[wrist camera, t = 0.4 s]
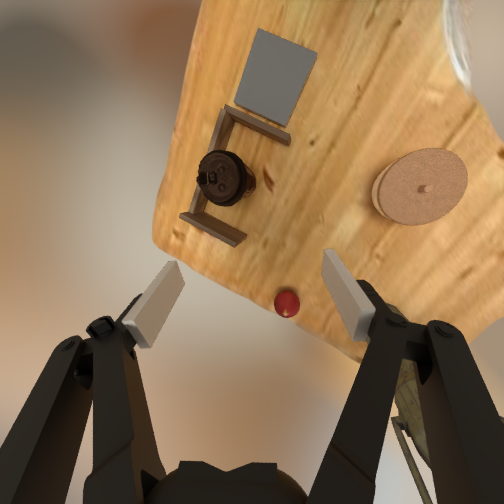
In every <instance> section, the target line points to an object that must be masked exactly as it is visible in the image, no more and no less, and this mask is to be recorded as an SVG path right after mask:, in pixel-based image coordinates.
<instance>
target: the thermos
mask: <svg viewBox="0 0 504 504" xmlns="http://www.w3.org/2000/svg"><path fill="white" fill-rule="evenodd" d="M386 304H387V303H386ZM387 306H388V307H389V308H390V309H391V311H392V312H394V313H397V314H399V315H401V316H403V317H404V318H405V319H406V320H407V321H408V322H409V320H408V319H407V318H406V317H405V316H404V315H403V314H402V313H401V312H400V311H399V310H398V309H397V308H396V307H394V306H392V305H390V304H387ZM366 341H367V343H368V345H369V342H370V338H369V336H368V335H367V338H366ZM394 396H395V404H396V406H397V408H398V411H399V416H396V417H391V421H392V424H393V427H394V430H395V433H396V436H397V438H398V441H399V444H400V446H401V449H402V451H403V454H404V456H405V458H406V461H407V464H408V466H409V469H410V471H411V473H412V476H413V478H414V481H415V483H416V486H417V488H418V490H419V493H420V496H421V498H422V501H423V503H424V504H433V503H432V500H431V498H430V496H429V494H428V491H427V489H426V486H425V484H424V482H423V479H422V477H421V475H420V473H419V470H418V468H417V466H416V463H415V461H414V459H413V456H412V454H411V452H410V449H409V447H408V445H407V443H406V440H405V438H404V435H403V433H402V431H401V430H405V432H406V434H407V436H408V437H411V439H412V440H413V443H414V445H415V447H416V449H417V451H418V453H419V455H420V456H421V457H422V459H423V460H424V461H425V462H426V464H427V465H428V467H429V468H430V469H431V464H430V458H429V453H428V447H427V441H426V436H425V430H424V424H423V419H422V413H421V407H420V402H419V396H418V390H417V384H416V379H415V373H414V367H413V362H412V361H410V360H406V359H402V363H401V368H400V372H399V376H398V381H397V385H396V390H395V394H394ZM500 419H501V421H502V423H503V425H504V418H503V417H501V416H500ZM431 471H432V470H431Z"/></svg>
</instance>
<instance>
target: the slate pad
mask: <svg viewBox="0 0 504 504" xmlns="http://www.w3.org/2000/svg"><path fill="white" fill-rule="evenodd" d="M316 59H317V53H316V52H314V51H312V50H309V49H307V48H305V47H302V46H300V45H298V44H295V43H293V42H290V41H288V40H286V39H283V38H281V37H279V36H276V35H274V34H272V33H269V32H267V31H264V30H262V29H260V28H258V30H257V33H256V36H255V39H254V42H253V45H252V48H251V51H250V54H249V57H248V60H247V63H246V66H245V69H244V72H243V75H242V78H241V81H240V84H239V87H238V90H237V93H236V96H235V99H234V103H235V105H237V106H239V107H242V108H244V109H246V110H248V111H250V112H252V113H254V114H257V115H259V116H261V117H263V118H265V119H267V120H269V121H272V122H274V123H276V124H278V125H280V126H282V127H284V128H286V126H287V124H288V122H289V120H290V117H291V115H292V113H293V111H294V108H295V106H296V104H297V102H298V99H299V97H300V95H301V93H302V90H303V88H304V86H305V84H306V81H307V79H308V77H309V75H310V72H311V70H312V68H313V66H314V63H315V61H316Z"/></svg>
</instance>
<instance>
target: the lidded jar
mask: <svg viewBox="0 0 504 504" xmlns="http://www.w3.org/2000/svg"><path fill="white" fill-rule="evenodd" d="M467 181H468V174H467V169H466V167H465V164H464V163H463V161H462V160H461V158H459V157H458V156H457V155H456V154H454V153H453V152H451V151H448V150H445V149H441V148H426V149H421V150H418V151H414V152H412V153H410V154H407V155H405V156H403V157H402V158H399V159H398V160H396V161H394V162H393V163H391V164H390V165H388V166H387V167H386V168H385V169H384V170H383V171H382V172H381V173H380V174H379V176H378V177H377V179H376V180H375V182H374V185H373V188H372V201H373V204H374V206H375V208H376V209H377V211H378V212H379V213H380V214H382V215H383V216H384V217H386V218H388V219H390V220H392V221H394V222H397V223H400V224H404V225H422V224H427V223H430V222H433V221H435V220H437V219H439V218H441V217H443V216H444V215H446V214H447V213H448V212H450V211H451V210H452V209H453V208H454V207H455V206H456V205H457V204H458V202H459V201H460V200H461V198H462V196H463V194H464V192H465V190H466V186H467Z"/></svg>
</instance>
